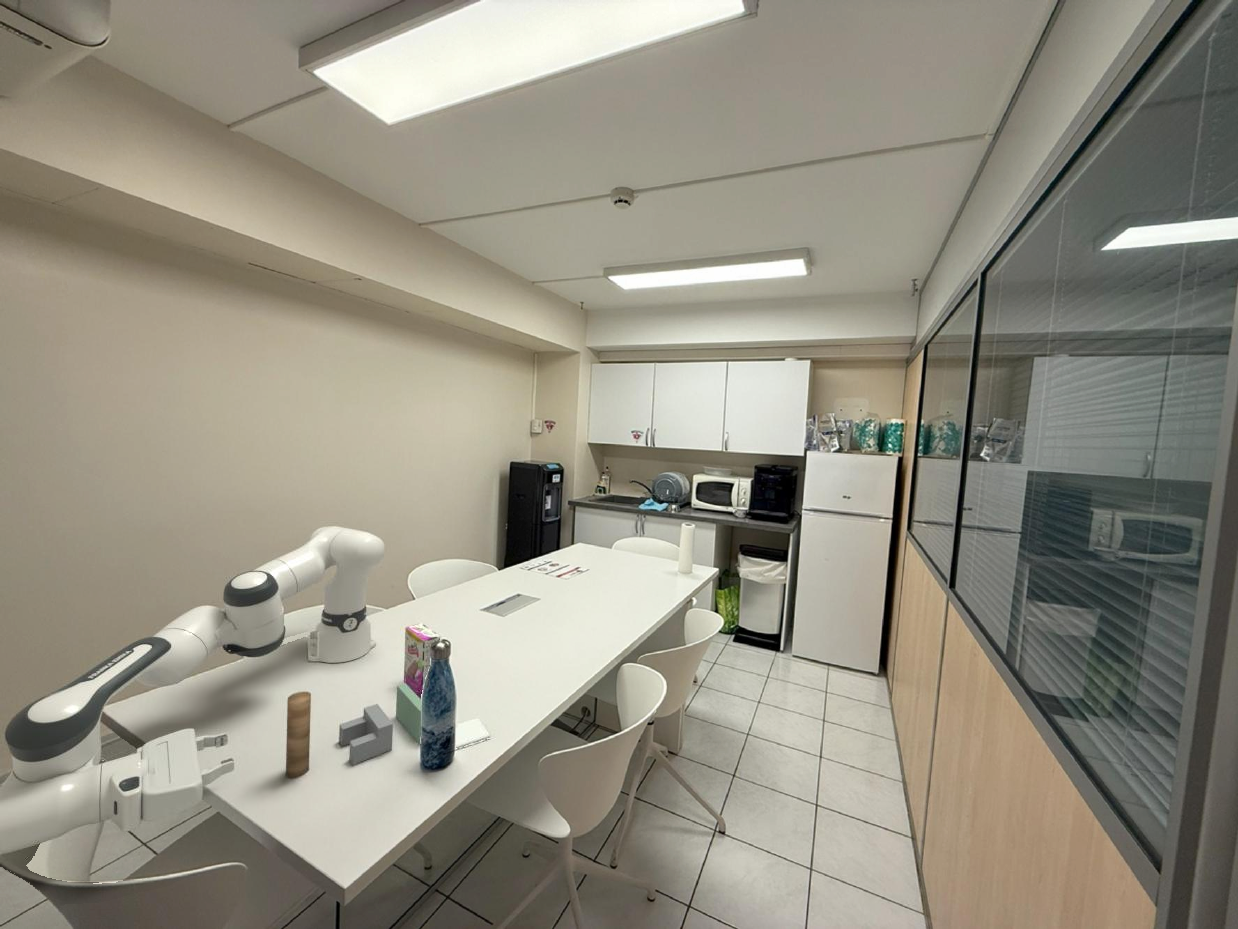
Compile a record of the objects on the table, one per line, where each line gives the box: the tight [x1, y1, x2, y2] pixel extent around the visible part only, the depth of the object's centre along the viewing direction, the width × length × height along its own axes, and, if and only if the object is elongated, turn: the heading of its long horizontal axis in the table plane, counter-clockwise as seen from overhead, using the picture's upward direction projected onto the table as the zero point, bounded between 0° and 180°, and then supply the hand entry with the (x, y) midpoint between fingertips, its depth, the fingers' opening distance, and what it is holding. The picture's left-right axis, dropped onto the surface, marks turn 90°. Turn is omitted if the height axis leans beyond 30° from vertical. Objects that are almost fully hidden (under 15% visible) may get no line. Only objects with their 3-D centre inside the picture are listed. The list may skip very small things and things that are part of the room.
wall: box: [395, 682, 423, 746], centre depth 116 cm, size 14×2×8 cm, turn 45°
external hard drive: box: [456, 717, 491, 750], centre depth 114 cm, size 2×8×12 cm
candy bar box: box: [403, 622, 441, 699], centre depth 134 cm, size 11×5×16 cm, turn 48°
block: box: [338, 703, 394, 765], centre depth 109 cm, size 10×8×6 cm
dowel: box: [285, 691, 312, 779], centre depth 100 cm, size 4×4×16 cm
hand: (230, 750), depth 92 cm, fingers open, 8 cm apart
